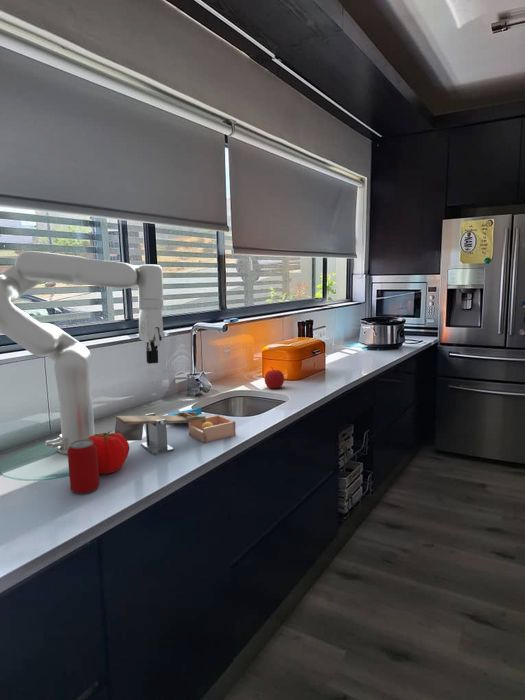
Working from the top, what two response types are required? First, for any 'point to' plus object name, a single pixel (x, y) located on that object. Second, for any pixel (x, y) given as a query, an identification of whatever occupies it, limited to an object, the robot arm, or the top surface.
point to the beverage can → (83, 466)
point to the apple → (274, 379)
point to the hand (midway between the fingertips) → (152, 362)
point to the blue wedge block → (197, 410)
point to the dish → (213, 428)
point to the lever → (134, 424)
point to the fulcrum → (156, 437)
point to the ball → (206, 425)
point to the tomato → (110, 451)
